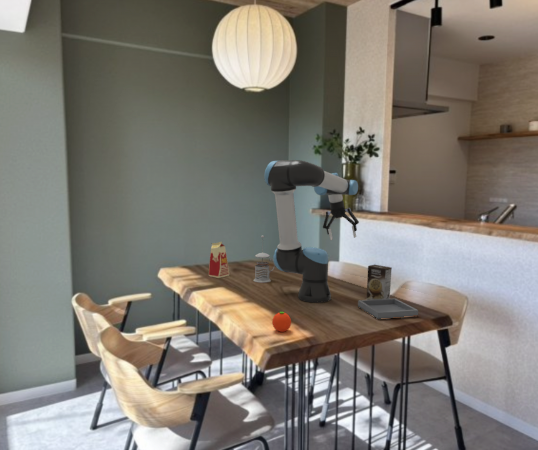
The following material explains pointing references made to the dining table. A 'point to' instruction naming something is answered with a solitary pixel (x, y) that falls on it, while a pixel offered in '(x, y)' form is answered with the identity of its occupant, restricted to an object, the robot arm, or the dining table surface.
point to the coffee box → (378, 282)
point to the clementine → (281, 322)
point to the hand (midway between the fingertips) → (343, 238)
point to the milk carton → (218, 261)
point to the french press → (260, 266)
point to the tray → (387, 308)
